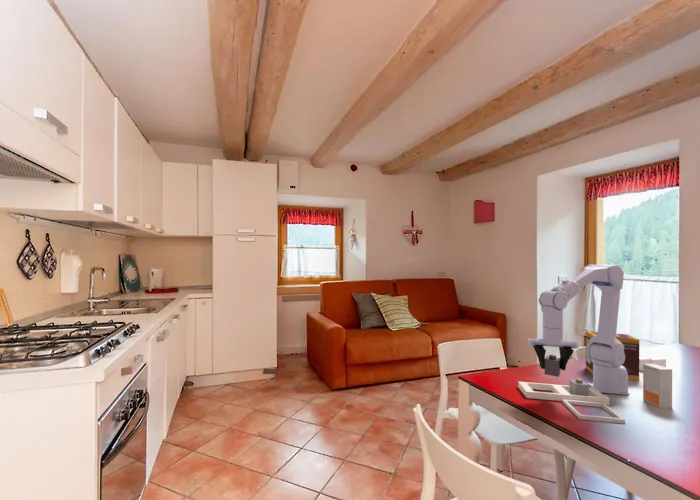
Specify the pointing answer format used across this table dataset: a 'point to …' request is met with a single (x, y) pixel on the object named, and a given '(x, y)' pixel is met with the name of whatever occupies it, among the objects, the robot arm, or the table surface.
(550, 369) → the plug
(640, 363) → the napkin holder
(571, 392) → the twin plug
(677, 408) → the table surface
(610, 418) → the white square frame
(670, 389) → the skincare box
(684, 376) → the table surface
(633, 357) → the supplement box
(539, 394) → the twin square frames
